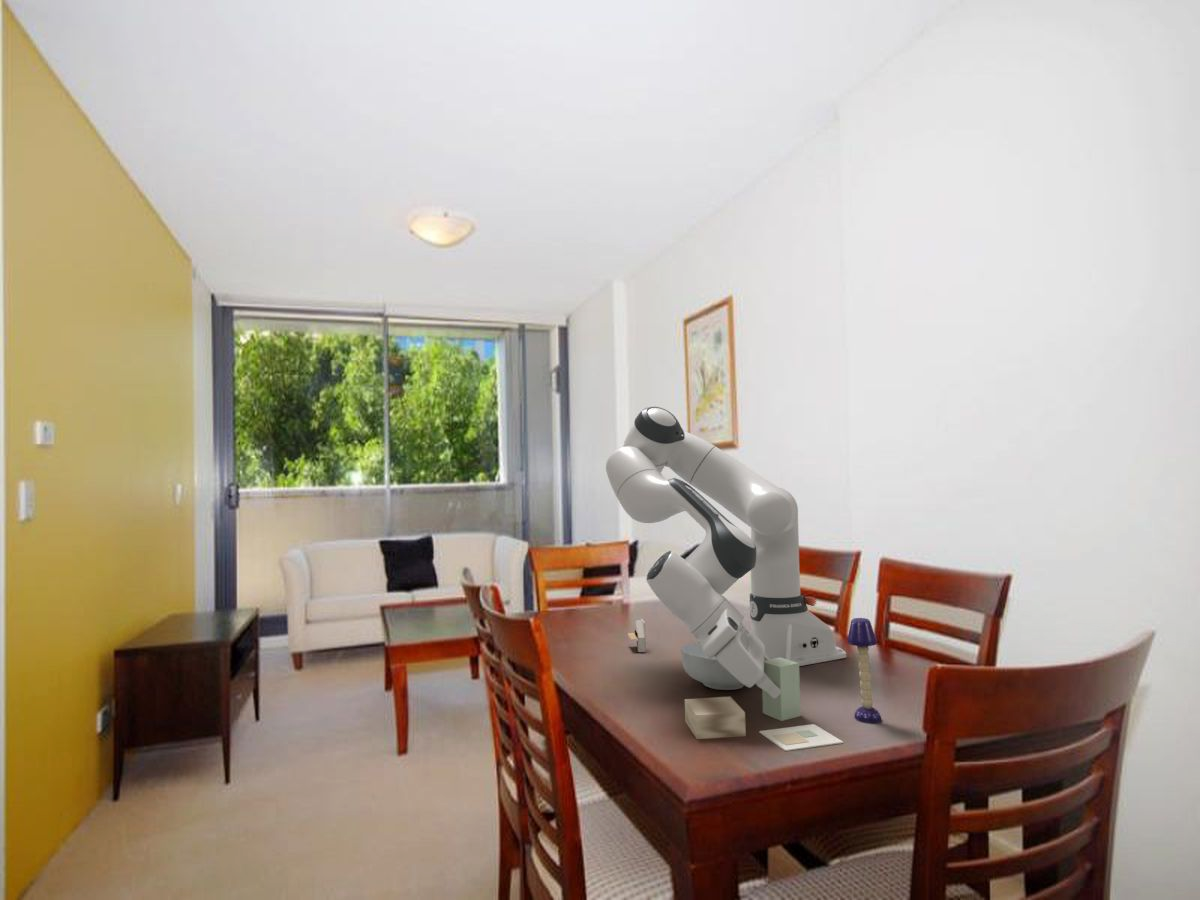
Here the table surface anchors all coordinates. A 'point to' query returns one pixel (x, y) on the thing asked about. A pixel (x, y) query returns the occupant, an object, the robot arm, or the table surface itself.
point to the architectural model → (639, 636)
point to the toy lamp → (864, 667)
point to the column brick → (782, 689)
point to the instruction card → (800, 737)
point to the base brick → (714, 717)
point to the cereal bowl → (707, 668)
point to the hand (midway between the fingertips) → (778, 686)
